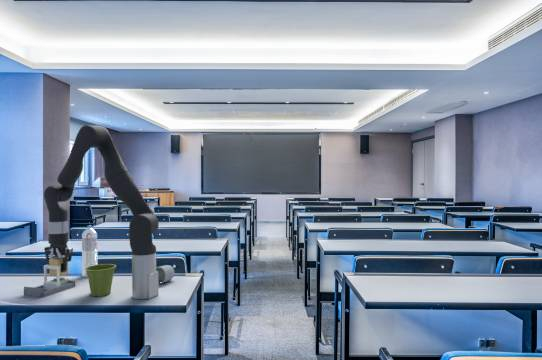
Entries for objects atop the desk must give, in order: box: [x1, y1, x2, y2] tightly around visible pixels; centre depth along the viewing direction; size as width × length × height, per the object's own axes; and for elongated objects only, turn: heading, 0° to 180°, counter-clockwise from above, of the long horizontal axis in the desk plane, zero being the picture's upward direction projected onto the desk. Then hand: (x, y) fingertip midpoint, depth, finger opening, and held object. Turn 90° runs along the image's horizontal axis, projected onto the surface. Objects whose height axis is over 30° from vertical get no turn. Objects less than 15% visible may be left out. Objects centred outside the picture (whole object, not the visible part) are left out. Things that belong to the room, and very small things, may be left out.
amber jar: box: [48, 255, 69, 278], centre depth 160 cm, size 5×5×8 cm
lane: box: [23, 279, 76, 299], centre depth 156 cm, size 10×16×4 cm, turn 162°
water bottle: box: [81, 224, 99, 278], centre depth 181 cm, size 7×7×25 cm
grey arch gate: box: [43, 264, 61, 290], centre depth 157 cm, size 8×2×10 cm, turn 72°
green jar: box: [49, 276, 69, 286], centre depth 160 cm, size 5×5×4 cm
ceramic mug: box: [156, 264, 175, 285], centre depth 172 cm, size 11×8×8 cm
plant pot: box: [85, 263, 117, 297], centre depth 153 cm, size 12×12×11 cm
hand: (58, 271), depth 160 cm, fingers closed on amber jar, 5 cm apart
